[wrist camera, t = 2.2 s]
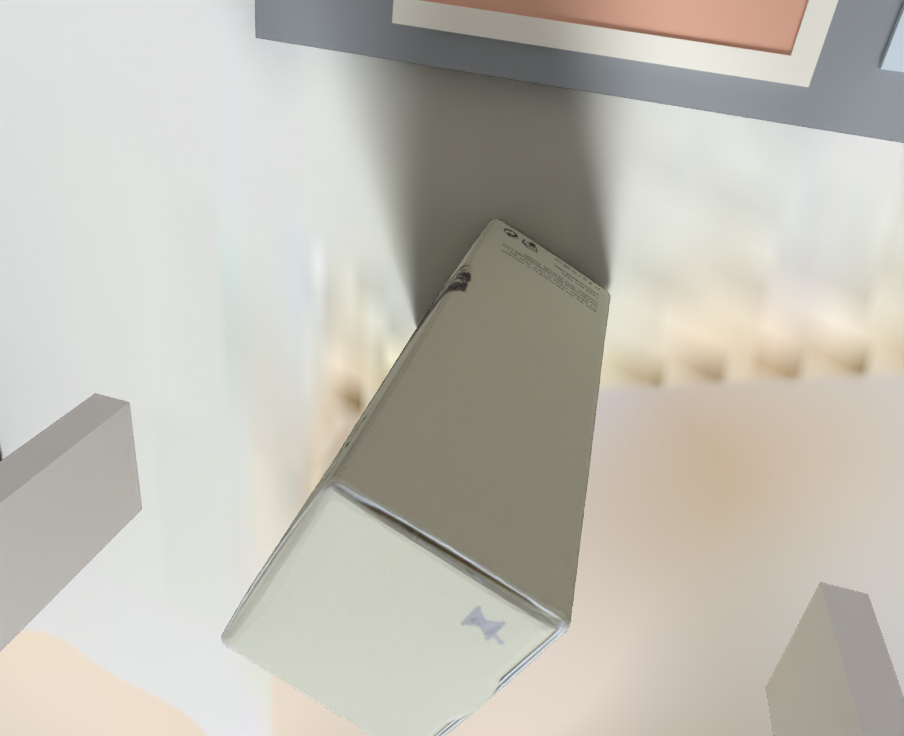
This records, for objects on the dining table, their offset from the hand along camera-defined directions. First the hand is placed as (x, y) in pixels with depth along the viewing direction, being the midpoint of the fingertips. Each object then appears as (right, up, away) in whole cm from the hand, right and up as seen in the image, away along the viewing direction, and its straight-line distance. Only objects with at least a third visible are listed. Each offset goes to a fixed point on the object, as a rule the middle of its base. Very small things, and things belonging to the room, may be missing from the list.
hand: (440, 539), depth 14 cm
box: (+2, +5, +9) cm, 11 cm away
